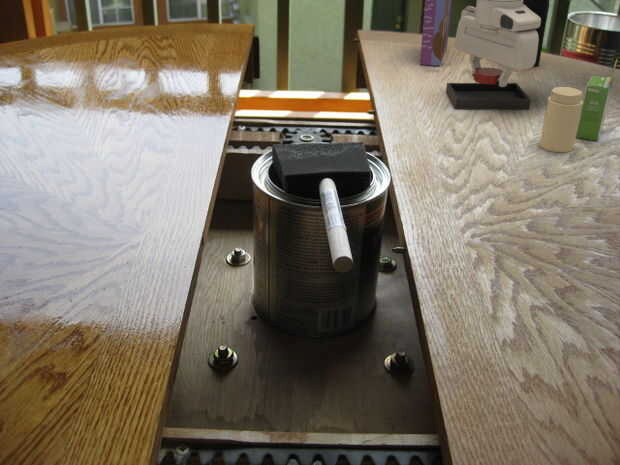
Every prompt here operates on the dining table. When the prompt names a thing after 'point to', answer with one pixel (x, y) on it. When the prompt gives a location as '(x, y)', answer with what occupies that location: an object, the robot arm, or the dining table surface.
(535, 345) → the dining table surface
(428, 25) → the cereal box
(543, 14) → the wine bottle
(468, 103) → the tray
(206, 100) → the dining table surface
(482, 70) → the jar lid
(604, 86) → the ink box
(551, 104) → the jar
